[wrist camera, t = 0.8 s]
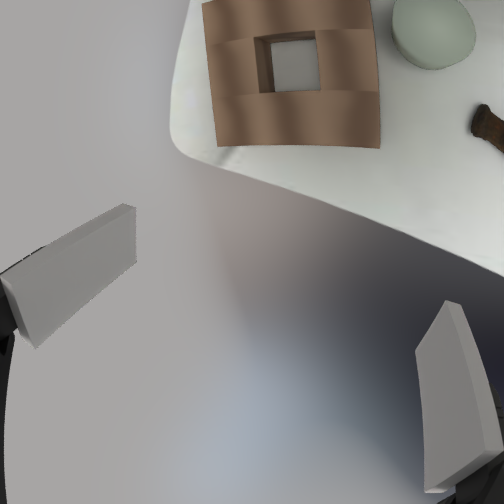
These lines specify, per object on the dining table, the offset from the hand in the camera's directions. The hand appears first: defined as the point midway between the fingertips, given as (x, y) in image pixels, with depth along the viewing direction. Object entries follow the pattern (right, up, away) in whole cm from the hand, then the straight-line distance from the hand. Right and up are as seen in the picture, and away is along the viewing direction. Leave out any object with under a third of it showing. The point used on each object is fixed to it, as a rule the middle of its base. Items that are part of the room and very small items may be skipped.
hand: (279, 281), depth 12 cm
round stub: (+18, +24, +11) cm, 32 cm away
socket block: (+4, +22, +19) cm, 29 cm away
